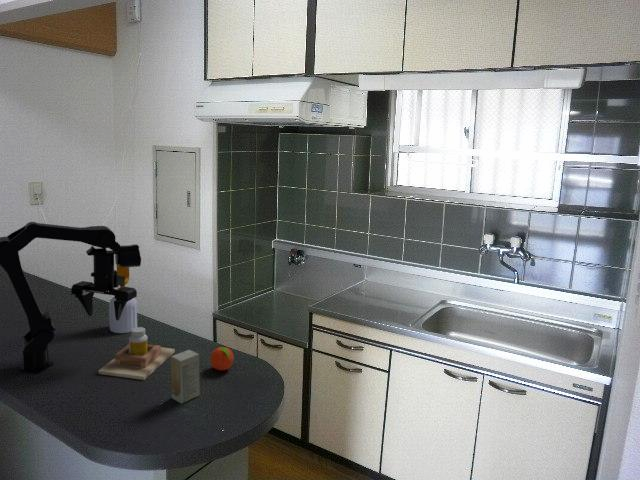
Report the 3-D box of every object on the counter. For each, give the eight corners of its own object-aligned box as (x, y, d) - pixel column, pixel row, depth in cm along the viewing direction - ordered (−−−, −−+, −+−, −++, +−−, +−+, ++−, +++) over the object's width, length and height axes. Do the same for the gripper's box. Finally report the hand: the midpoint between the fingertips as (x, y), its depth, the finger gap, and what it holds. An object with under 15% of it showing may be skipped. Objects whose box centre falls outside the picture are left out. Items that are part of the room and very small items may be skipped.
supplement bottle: (126, 357, 159) (126, 328, 157) (144, 354, 162) (143, 324, 160) (133, 364, 155) (132, 334, 153) (150, 360, 158) (150, 330, 156)
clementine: (240, 371, 156) (240, 349, 155) (220, 378, 152) (220, 355, 150) (225, 362, 162) (225, 340, 161) (205, 368, 157) (205, 346, 156)
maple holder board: (143, 379, 148) (143, 366, 147) (98, 373, 150) (98, 360, 149) (174, 351, 168) (174, 340, 167) (133, 346, 170) (133, 335, 169)
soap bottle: (108, 334, 178) (106, 264, 173) (111, 324, 187) (109, 258, 182) (136, 333, 181) (135, 264, 176) (137, 323, 189) (136, 257, 184)
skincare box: (190, 390, 144) (190, 348, 141) (200, 395, 141) (200, 353, 139) (170, 398, 139) (170, 355, 137) (180, 404, 136) (180, 360, 134)
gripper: (146, 266, 163) (145, 314, 166) (92, 259, 166) (92, 306, 169) (126, 274, 152) (126, 325, 155) (69, 267, 155) (70, 317, 158)
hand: (104, 318), depth 160 cm, fingers open, 9 cm apart
